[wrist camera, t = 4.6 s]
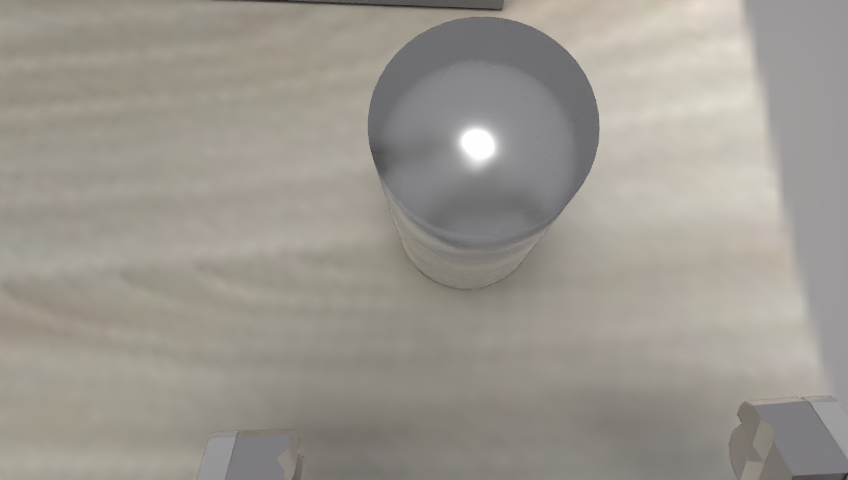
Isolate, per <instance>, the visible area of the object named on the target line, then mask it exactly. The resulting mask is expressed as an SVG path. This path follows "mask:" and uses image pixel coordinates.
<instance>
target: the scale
mask: <svg viewBox="0 0 848 480" xmlns="http://www.w3.org/2000/svg"><path fill="white" fill-rule="evenodd" d="M290 1H315V2H340V3H366V4H391V5H417V6H442V7H468V8H493V9H502V6H503V0H290Z"/></svg>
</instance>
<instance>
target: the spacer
mask: <svg viewBox="0 0 848 480" xmlns="http://www.w3.org/2000/svg"><path fill="white" fill-rule="evenodd" d="M368 136H369V144H370V149H371V152H372V156H373V160H374V163H375V166H376V169H377V172H378V175H379V178H380V181H381V184H382V187H383V190H384V193H385V195H386V198H387V201H388V204H389V207H390V210H391V213H392V216H393V219H394V222H395V225H396V228H397V231H398V234H399V237H400V240H401V243H402V245H403V248H404V250H405V252H406V254H407V256H408V257H409V259H410V260H411V262H412V263H413V264H414V265H415V266H416V267H417V268H418V269H419V270H420V271H421V272H422V273H423V274H424V275H426V276H427V277H428V278H430V279H432V280H434V281H435V282H438V283H440V284H443V285H445V286H449V287H453V288H460V289H474V288H481V287H484V286H488V285H491V284H493V283H496V282H498V281H500V280H501V279H503V278H505V277H506V276H508V275H509V274H510V273H511V272H513V271H514V270H515V269H516V268H517V267H518V265H519V264H520V263H521V262H522V261H523V259H524V258H525V257H526V256H527V254H528V253H529V252H530V251H531V249H532V248H533V247H534V245H535V244H536V243H537V242H538V240H539V239H540V238H541V237H542V235H543V234H544V233H545V232H546V230H547V229H548V228H549V227H550V225H551V224H552V223H553V222H554V220H555V219H556V218H557V217H558V215H559V214H560V213H561V212H562V210H563V209H564V208H565V207H566V205H567V204H568V203H569V202H570V200H571V199H572V198H573V196H574V195H575V194H576V192H577V191H578V190H579V188H580V187H581V186H582V184H583V183H584V181H585V179H586V177H587V175H588V173H589V172H590V169H591V167H592V164H593V161H594V159H595V155H596V151H597V146H598V140H599V114H598V109H597V104H596V99H595V96H594V93H593V90H592V88H591V85H590V83H589V81H588V79H587V77H586V75H585V73H584V72H583V70H582V69H581V67H580V66H579V64H578V63H577V62H576V60H575V59H574V58H573V57H572V56H571V55H570V54H569V53H568V51H567V50H565V49H564V48H563V47H562V46H561V45H560V44H559V43H557V42H556V41H555V40H553V39H552V38H550V37H549V36H547V35H546V34H544V33H543V32H541V31H539V30H537V29H535V28H533V27H531V26H528V25H525V24H522V23H519V22H517V21H512V20H508V19H503V18H495V17H470V18H463V19H457V20H454V21H450V22H446V23H443V24H441V25H438V26H436V27H433V28H431V29H429V30H427V31H425V32H424V33H422V34H420V35H418V36H417V37H416V38H414V39H413V40H411V41H410V42H409V43H407V44H406V45H405V46H404V47H403V48H402V49H401V50H400V51H399V52H398V53H397V54H396V55H395V56H394V57H393V59H392V60H391V61H390V62H389V64H388V65H387V66H386V68H385V70H384V71H383V73H382V74H381V76H380V78H379V80H378V83H377V85H376V87H375V89H374V92H373V96H372V99H371V103H370V109H369V115H368Z"/></svg>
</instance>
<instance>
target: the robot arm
mask: <svg viewBox="0 0 848 480" xmlns="http://www.w3.org/2000/svg"><path fill="white" fill-rule="evenodd" d="M737 416H738V418H739V420H740V421H741V423H742V424H741V425H739V426H738V427H737V428H736V429H734V430H733V431H732V434H731V438H730V442H729V451H730V460H731V463H732V467H733V470H734V472H735V475H736V477H737V479H738V480H848V414H847V413H846V412H845V410H844V409H843V407H842V406H841V405H840V403H839V402H838V401H837V400H836V399H835V398H833V397H832V396H816V397H801V398H799V397H791V398H778V399H764V400H751V401H744V402H743V403H742V404H741V405H740V408H739V411H738V414H737ZM299 444H300V440H299V437H298V433H297V430H296V429H283V430H253V431H231V432H214V433H213V434H212V435H211V437H210V438H209V440H208V442H207V445H206V449H205V452H204V455H203V458H202V462H201V465H200V468H199V471H198V474H197V478H196V480H307V478H308V477H307V468H306V463H305V459H304V456H302V455H301V454H299V453H298V450H299Z"/></svg>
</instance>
